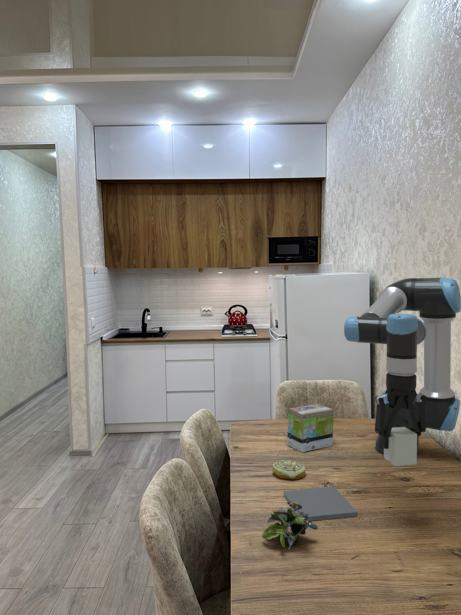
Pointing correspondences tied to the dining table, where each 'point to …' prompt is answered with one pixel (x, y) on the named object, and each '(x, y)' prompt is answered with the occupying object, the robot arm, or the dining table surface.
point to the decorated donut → (289, 469)
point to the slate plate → (321, 503)
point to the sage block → (403, 446)
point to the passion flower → (288, 524)
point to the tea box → (310, 427)
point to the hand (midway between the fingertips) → (399, 458)
